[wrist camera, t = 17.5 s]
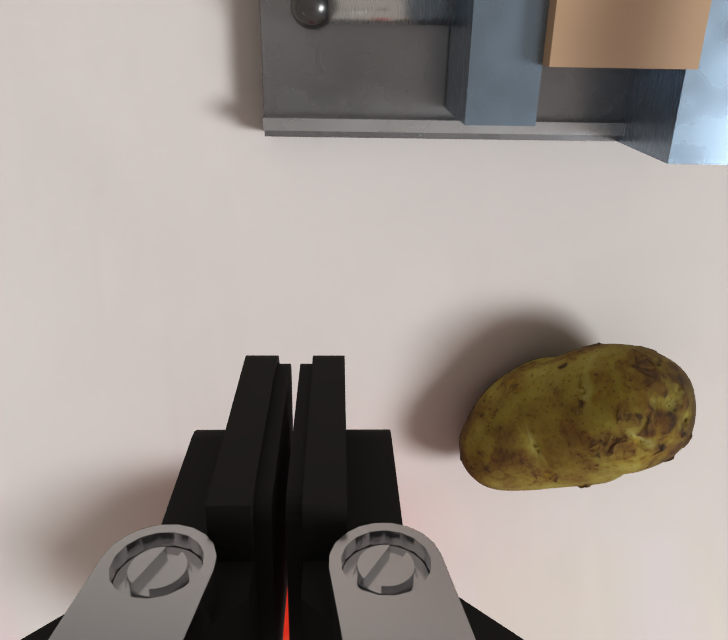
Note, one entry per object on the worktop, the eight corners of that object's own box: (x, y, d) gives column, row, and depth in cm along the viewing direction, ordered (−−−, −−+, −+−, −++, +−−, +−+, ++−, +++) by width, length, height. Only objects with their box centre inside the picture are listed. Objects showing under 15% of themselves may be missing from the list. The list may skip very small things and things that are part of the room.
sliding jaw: (293, 106, 34) (285, 122, 29) (289, -107, 30) (279, -133, 25) (505, 109, 34) (535, 126, 29) (525, -100, 31) (564, -124, 26)
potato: (434, 354, 42) (454, 425, 34) (646, 302, 41) (713, 364, 34) (460, 464, 45) (484, 551, 38) (657, 418, 44) (720, 498, 37)
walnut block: (509, 57, 34) (549, 66, 27) (517, -35, 32) (562, -48, 26) (630, 59, 34) (697, 69, 28) (644, -32, 32) (720, -44, 26)
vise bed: (267, 131, 36) (251, 158, 29) (258, -140, 31) (235, -184, 24) (661, 137, 37) (735, 164, 30) (711, -127, 32) (812, -165, 25)
